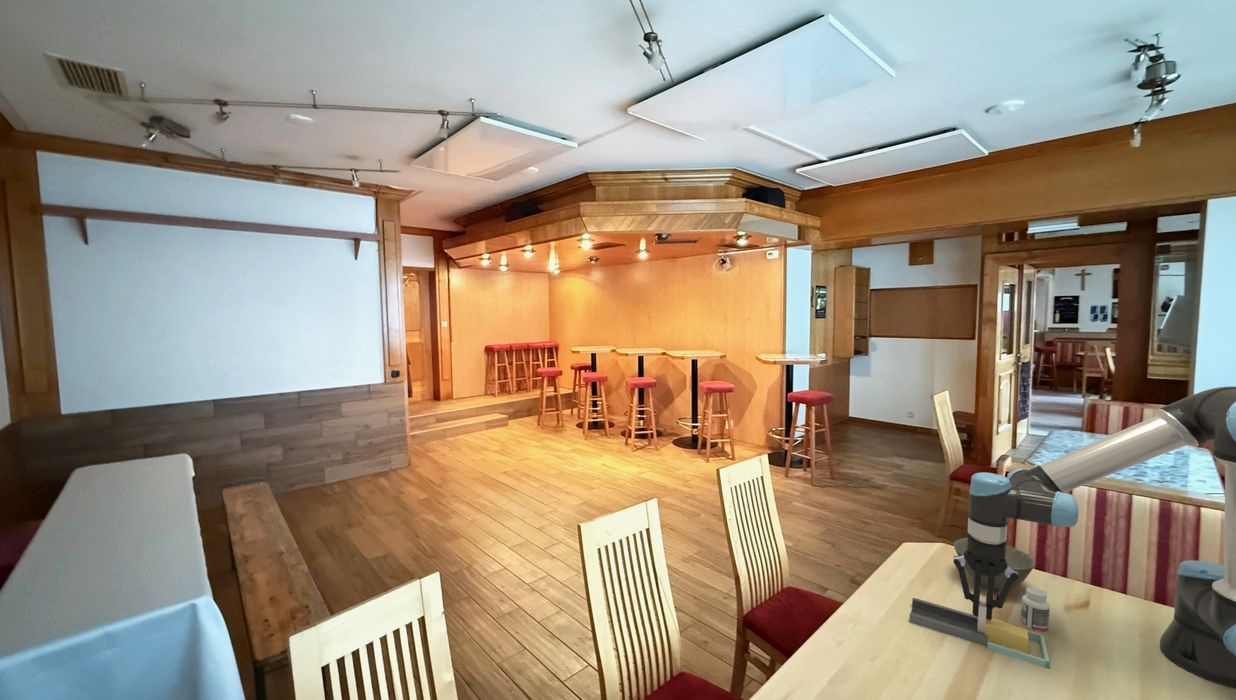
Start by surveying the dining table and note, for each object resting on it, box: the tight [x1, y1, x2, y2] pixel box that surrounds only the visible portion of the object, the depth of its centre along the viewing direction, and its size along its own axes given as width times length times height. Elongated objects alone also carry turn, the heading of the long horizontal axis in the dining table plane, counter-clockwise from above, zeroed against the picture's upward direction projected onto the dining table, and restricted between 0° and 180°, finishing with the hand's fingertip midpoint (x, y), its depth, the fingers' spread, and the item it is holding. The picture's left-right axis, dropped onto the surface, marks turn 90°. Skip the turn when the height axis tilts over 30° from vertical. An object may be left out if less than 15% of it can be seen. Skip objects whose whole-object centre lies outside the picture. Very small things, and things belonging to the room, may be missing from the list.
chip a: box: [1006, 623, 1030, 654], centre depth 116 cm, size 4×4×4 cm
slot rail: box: [908, 597, 989, 647], centre depth 124 cm, size 16×9×3 cm, turn 54°
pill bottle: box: [1020, 586, 1051, 632], centre depth 123 cm, size 5×5×10 cm
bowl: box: [953, 537, 1036, 591], centre depth 142 cm, size 19×19×10 cm
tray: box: [986, 630, 1051, 670], centre depth 116 cm, size 11×11×2 cm
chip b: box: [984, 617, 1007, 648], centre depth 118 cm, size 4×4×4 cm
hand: (981, 629), depth 120 cm, fingers closed
